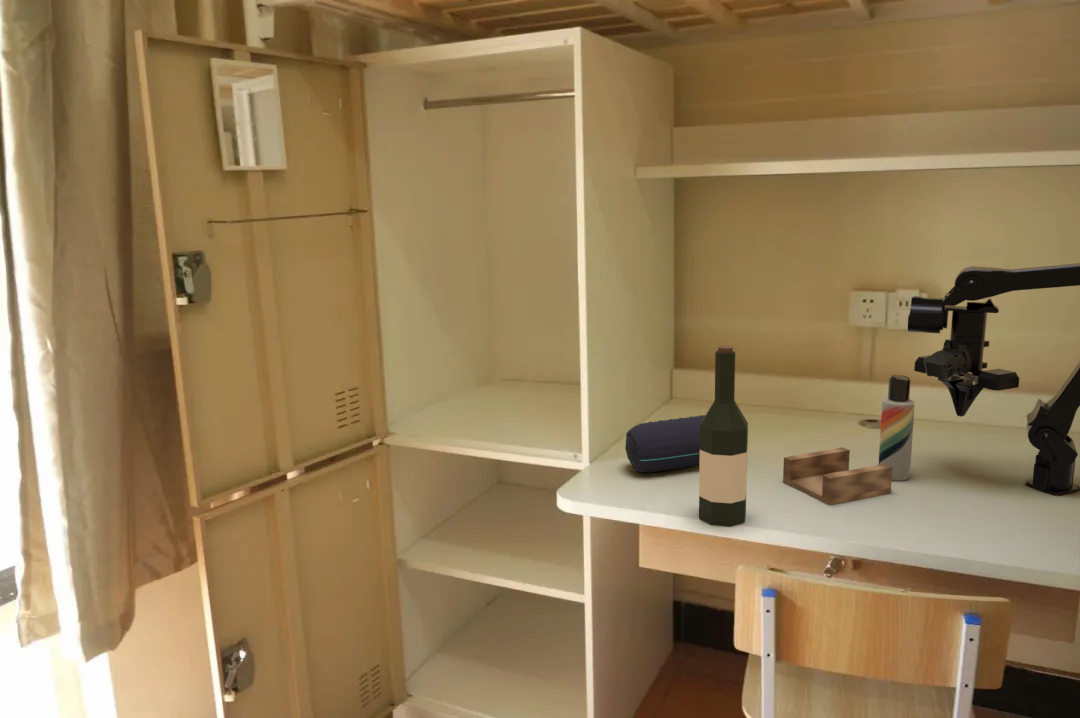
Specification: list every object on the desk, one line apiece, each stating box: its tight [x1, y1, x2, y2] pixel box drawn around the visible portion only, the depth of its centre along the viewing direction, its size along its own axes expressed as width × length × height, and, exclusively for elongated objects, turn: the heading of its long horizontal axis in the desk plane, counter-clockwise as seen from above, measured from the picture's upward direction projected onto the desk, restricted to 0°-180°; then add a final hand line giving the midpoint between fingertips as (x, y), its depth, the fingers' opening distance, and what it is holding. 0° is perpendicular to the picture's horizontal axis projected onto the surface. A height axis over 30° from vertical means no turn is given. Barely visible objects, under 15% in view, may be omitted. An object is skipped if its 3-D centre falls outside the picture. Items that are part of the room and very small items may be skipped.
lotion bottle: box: [878, 374, 916, 482], centre depth 158 cm, size 6×6×20 cm
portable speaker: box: [625, 414, 706, 474], centre depth 169 cm, size 25×10×10 cm, turn 109°
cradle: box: [782, 446, 893, 506], centre depth 155 cm, size 14×13×5 cm
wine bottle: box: [698, 345, 749, 528], centre depth 140 cm, size 8×8×30 cm
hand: (960, 415), depth 157 cm, fingers closed
